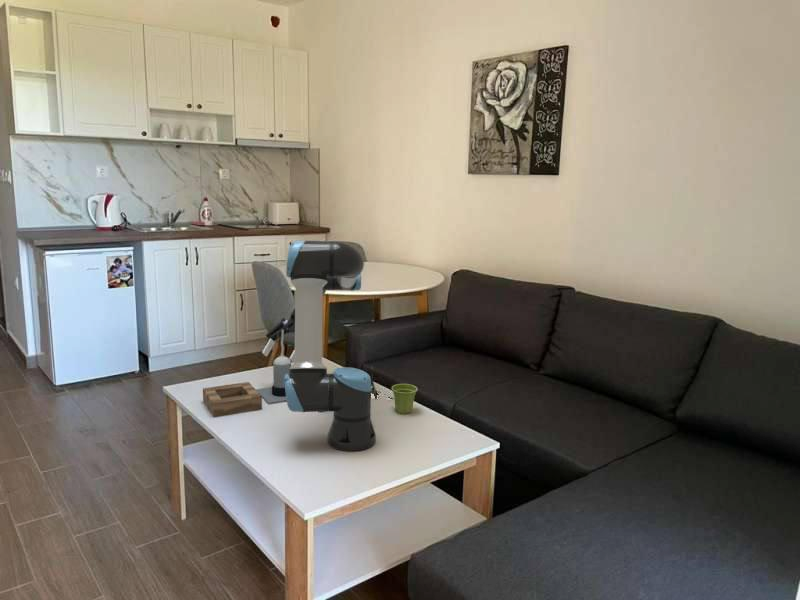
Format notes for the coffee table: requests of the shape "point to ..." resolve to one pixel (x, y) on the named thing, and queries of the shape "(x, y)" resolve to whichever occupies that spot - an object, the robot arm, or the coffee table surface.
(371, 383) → the eiffel tower figurine
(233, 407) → the dock
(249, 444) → the coffee table surface
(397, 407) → the plant pot
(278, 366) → the humidifier
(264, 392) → the mat
